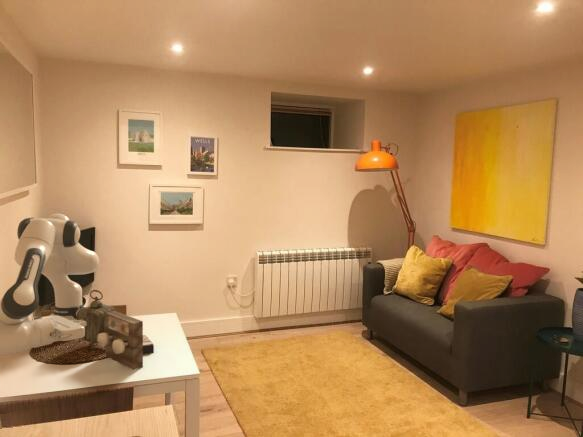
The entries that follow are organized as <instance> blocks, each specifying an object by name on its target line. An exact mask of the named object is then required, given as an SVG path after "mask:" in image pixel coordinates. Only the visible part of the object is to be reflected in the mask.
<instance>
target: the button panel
mask: <svg viewBox="0 0 583 437" xmlns="http://www.w3.org/2000/svg"><path fill="white" fill-rule="evenodd" d="M143 327H144V325H143V320H140V319H137V318H135V317H133V316H129V315H127V314H124V313H122V312H118V311H116V310H115V311H111V312H107V313H105V332H106V333H107V334H108V336H111V335H113V339H110V340H109V344H108V345H107V346H105V357H106V356H107V357H106V358H108V357H109V359H110V360H112V361H114V362H117V363H118V364H121V365H122V366H124V367H127V368H129V369H131V370H133V371H135V370H137V369H140V368H143V367H144V366H143V364H144V354H143V335H144V332H143V330H144V329H143ZM117 339H122V340H123V342H124V343H125V342H129V345H128V346H125V350H124V352H123V353H119V354H116V353H115V352H114V351H113V347H112V344H113V341H114V340H117Z"/></svg>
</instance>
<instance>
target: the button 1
mask: <svg viewBox="0 0 583 437" xmlns="http://www.w3.org/2000/svg"><path fill="white" fill-rule="evenodd" d="M110 339H113V335H111V336H108V334H107V333H106V332H104V333H100V334H98V336H97V341H98V343H97V344H98V346H100V347H101V348H102V347H106V346H107V345H108V344H109V340H110Z"/></svg>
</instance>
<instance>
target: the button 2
mask: <svg viewBox="0 0 583 437" xmlns="http://www.w3.org/2000/svg"><path fill="white" fill-rule="evenodd" d="M128 345H129V342H125V343H124V342H123V340H122V339H117V340H114V341H113V344H112V347H113V351H114V352H115V353H116V354H119V353H123V352H124V350H125V346H128Z"/></svg>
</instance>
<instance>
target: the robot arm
mask: <svg viewBox="0 0 583 437" xmlns="http://www.w3.org/2000/svg"><path fill="white" fill-rule="evenodd" d="M16 231H17V232H16V233H17V238H18V242H17V245H16V248H15V252H14V261H15V262H16V263H17V265H19V266H20V269H19V272H18V274H17V277H16V280H15V283H14V284H13V285H12V286H10V287H9V288H8V289H7V290H6V292H5V293H4V295H3V296H2V298H1V299H0V355H9V354H15V353H20V352H23V351H25V350H27V349H28V350H29V349H31V348H35V349H36V348H40V347H43V346H44V347H45V346H47V345H51V344H53V343H55V342H60V341H61V342H66V341H67V342H68V341H74V340H78V339H79V338H83V337H84V336H85V327H84V326H86V321H84V320H77V313H78V311H79V310H80V309H81V308H84V302H83V287H82V286H81V285H80V284H79V283H78V282H75V281H73V280H71V279H70V277H69V276H71V275H72V276H73V275H87V274H91V273H95V272H96V271H97V269H98V268H99V266H100V257H99V256H98V254H97V253H96V252H95V251H93V250H90V249H88V248H86V247H84V246H83V245H82V244H81V243H80V242H79V241H80V238H81V230H80V225H79V224H78V222H76V221H72V220H70V219H69V217H68V216H66V215H65V214H62V213H53V214H51V215H49V216H48V217H45V218H44V217H41V218H39V217H36V218H35V217H27V218H24V219H22V220H21V221H19V223H18V226H17V230H16ZM41 275H43V276H44V277H46V278H47V279H48V280H49V282H50V283H51V284H52V288H53V292H54V301H55V302H54V303H55V304H54V305H53V306H50V310H52V313H51V314H49V315H47V316H34V317H32V319H31V320H30V318H29V316H30V315H32V314H33V313H34V312H36V310H37V308H38V306H39V304H40V296H39V289H38V288H39V282H40V279H41ZM79 340H80V339H79Z"/></svg>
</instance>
